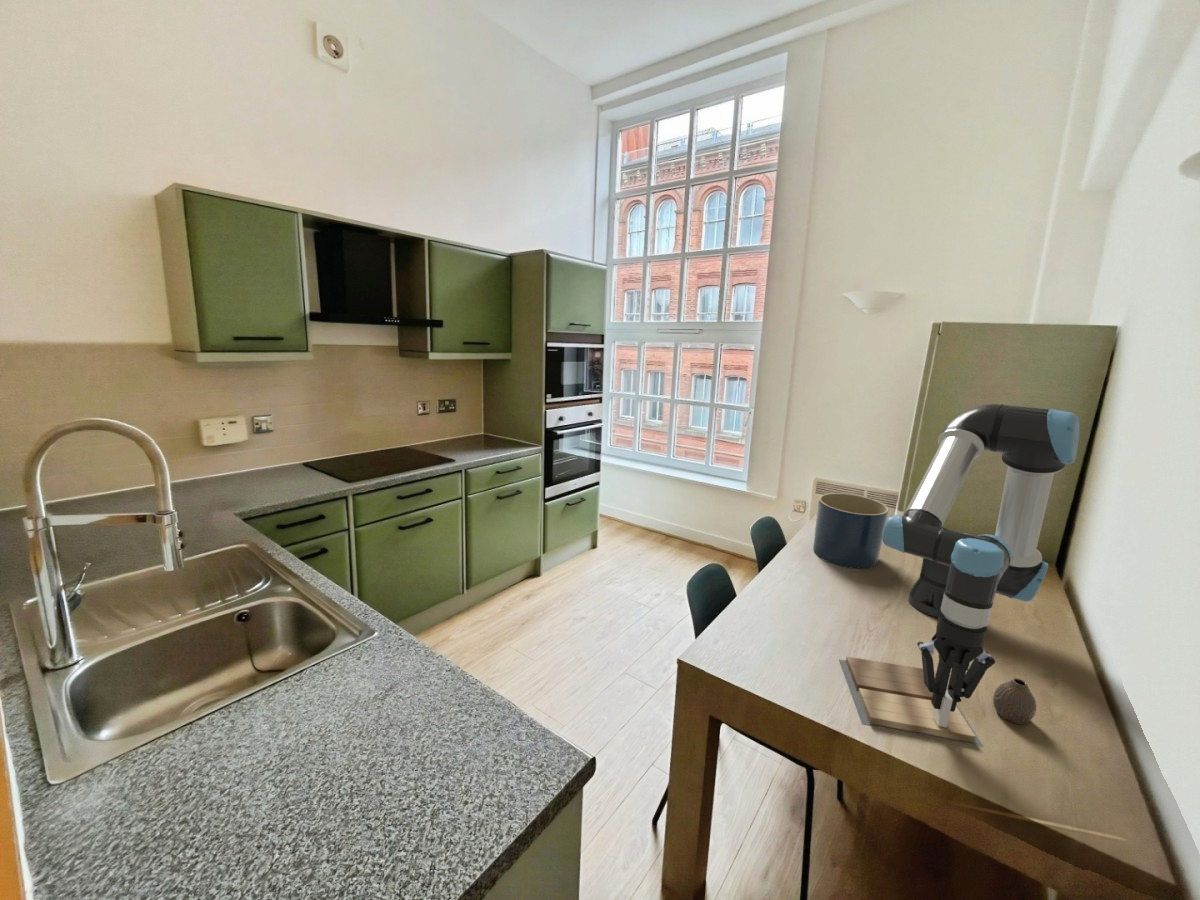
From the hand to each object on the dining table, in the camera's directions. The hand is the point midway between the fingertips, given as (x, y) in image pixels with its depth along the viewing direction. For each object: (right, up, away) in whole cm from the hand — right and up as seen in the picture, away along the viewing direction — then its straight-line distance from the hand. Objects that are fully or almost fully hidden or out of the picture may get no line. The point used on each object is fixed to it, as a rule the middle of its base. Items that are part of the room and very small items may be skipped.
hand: (939, 721), depth 100 cm
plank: (-3, -1, +3) cm, 5 cm away
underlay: (-2, 0, +9) cm, 9 cm away
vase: (+19, -2, +5) cm, 19 cm away
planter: (+20, +17, +79) cm, 84 cm away
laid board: (-1, +1, +14) cm, 14 cm away
